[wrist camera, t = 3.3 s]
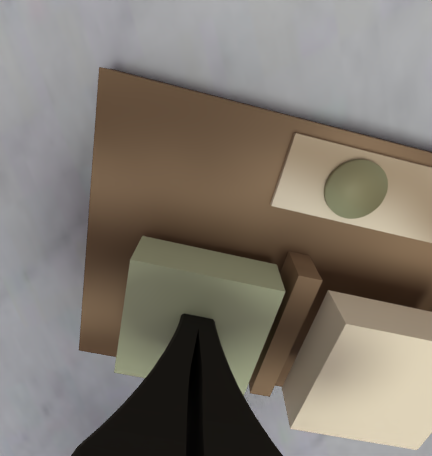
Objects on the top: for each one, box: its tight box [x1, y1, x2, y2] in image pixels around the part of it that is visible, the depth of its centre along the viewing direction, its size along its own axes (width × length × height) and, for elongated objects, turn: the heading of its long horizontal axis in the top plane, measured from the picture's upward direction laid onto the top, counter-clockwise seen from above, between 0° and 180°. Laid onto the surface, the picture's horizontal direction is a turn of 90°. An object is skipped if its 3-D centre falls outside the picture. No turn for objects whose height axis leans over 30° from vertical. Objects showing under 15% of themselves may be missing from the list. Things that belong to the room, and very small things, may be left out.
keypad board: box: [79, 67, 432, 397], centre depth 15 cm, size 14×27×4 cm, turn 77°
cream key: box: [282, 290, 432, 450], centre depth 13 cm, size 6×6×2 cm
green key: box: [114, 236, 285, 395], centre depth 14 cm, size 6×6×2 cm
